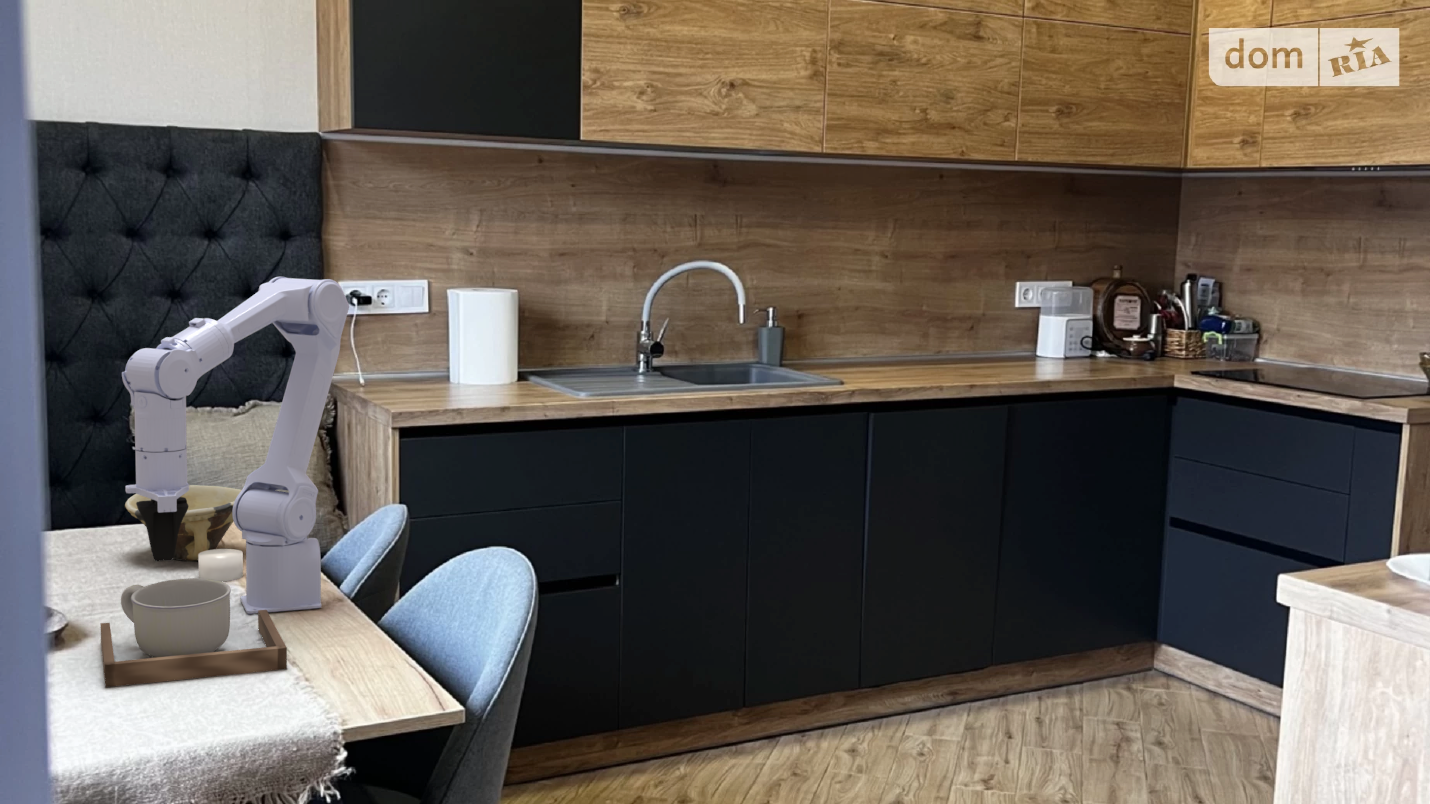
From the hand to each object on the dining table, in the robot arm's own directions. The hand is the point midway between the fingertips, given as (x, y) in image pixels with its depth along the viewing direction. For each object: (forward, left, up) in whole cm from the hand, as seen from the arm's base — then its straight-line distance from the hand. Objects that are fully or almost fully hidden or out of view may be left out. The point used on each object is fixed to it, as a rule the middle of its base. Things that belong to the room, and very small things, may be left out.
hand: (163, 559), depth 164 cm
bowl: (-6, -43, -10) cm, 45 cm away
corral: (-2, +8, -10) cm, 13 cm away
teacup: (-1, +7, -10) cm, 12 cm away
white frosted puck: (-9, -29, -10) cm, 32 cm away
